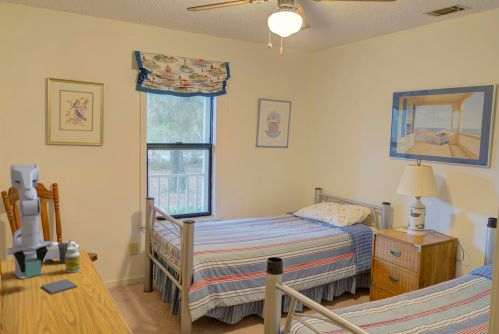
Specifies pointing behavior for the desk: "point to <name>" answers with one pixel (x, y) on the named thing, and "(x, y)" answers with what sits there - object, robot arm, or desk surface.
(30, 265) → the teal cube
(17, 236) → the robot arm
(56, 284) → the slate mat
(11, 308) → the desk surface
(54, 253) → the giant panda
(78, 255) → the supplement bottle
